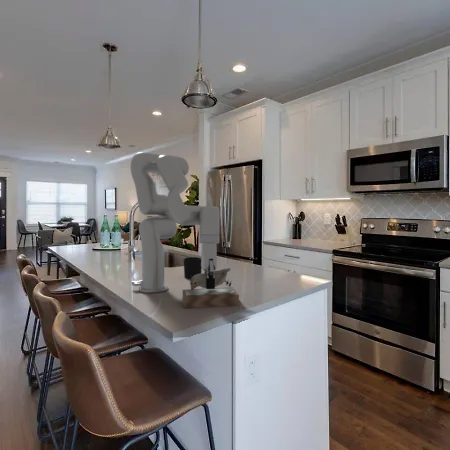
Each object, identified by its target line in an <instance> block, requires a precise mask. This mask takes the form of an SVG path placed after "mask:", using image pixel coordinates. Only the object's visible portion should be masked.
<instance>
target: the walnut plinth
mask: <svg viewBox="0 0 450 450" xmlns="http://www.w3.org/2000/svg"><path fill="white" fill-rule="evenodd" d="M182 304H183V309H196V308H197V309H198V308H216V307H217V308H218V307H231V306H232V307H234V306H239V305H240V294H239V293H238V292H237V290H236V289H235V288H234V287H230V286H229V287H215V289H206V288H194V289H193V290H191V288H190V289H189V288H187V289H182Z"/></svg>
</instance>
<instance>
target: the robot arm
mask: <svg viewBox="0 0 450 450" xmlns="http://www.w3.org/2000/svg"><path fill="white" fill-rule="evenodd" d="M189 170H190V165H189V163H188V161H187V160H186V159H185V158H184V157H182V156H177V155H172V154H157V153H153V152H148V151H147V152H146V151H141V152H140V151H139V152H137V153H135V154H134V155H133V156H132V158H131V162H130V173H131V177H132V180H133V183H134V186H135V192H136V198H137V203H138V208H139V212H140V213H141V214H142V215H144V216H158V217H147V218H145V219H143V220H142V221H141V222H140V223H139V226H138V233H139V238H140V242H141V243H140V244H141V271H142V272H141V279H140V280H131V286H134V287H138V291H139V292H141V293H149V294H150V293H151V294H155V293H161V292H165V291H167V290H168V289H169V285H167V284H165V248H164V245H163V244H162V241H161V240H163V239H166V240H167V239H170V238H173V237H174V236H176V234H177V231H178V225H180V226H198V227H199V228H198V231H199V232H198V233H199V235H198V236H199V238H198V239H199V244H201V252H200V254H201V255H200V256H201V257H200V259H201V267H202V271H204V273H206V272H207V278H206V288H205V289H215V288H216V287H215V274H214V271H217V267H218V265H217V264H218V263H217V262H218V257H217V253H218V252H217V249H218V248H217V244H220V209H219V207H218V206H212V205H210V206H209V205H207V206H205V205H204V206H202V205H201V206H200V205H185V203H184V201H183V199H182V198H181V194H182V193H183V192H185V190H186V189H188V188H189V181H188V179H187V178H186V176H187V175H188V173H189ZM149 173H151V174H159V175H160V177H161V179H162V180H163V182H164V184H165V186H166V188H167V189H168V193H167V194H158V193H157V189H156V184H155V181H154V180H153V178H152V177H151V175H150V174H149ZM177 224H178V225H177ZM208 272H209V273H208Z"/></svg>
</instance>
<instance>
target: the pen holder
mask: <svg viewBox="0 0 450 450" xmlns="http://www.w3.org/2000/svg"><path fill="white" fill-rule="evenodd" d="M183 269H184V270H183V273H184V274H183V275H184V278H185V279H187V280H191V279H192V277H193V276H194V275H196V274H200V273H202V271H203V269H202V267H201V257H197V256H195V257H194V256H191V257H185V258H184V259H183Z"/></svg>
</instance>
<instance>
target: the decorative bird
mask: <svg viewBox="0 0 450 450" xmlns="http://www.w3.org/2000/svg"><path fill="white" fill-rule="evenodd" d="M230 271H231V267H226V268H225V267H224V268H223V269H222V268H221V269H218V270H214V274H215V288H217V287H219V286H221V285H223V283H225V285H226V287H227V286H228V287H229V288H230V287H231V285H232V281H230V282H229V279H227V276H228V272H230ZM208 273H209V272H208ZM206 278H207V272H206V273H205V272H203V273H202V272H201V273H200V274H196V275H194V276H193V277H192V279H190V289H191V290H193V289H197V287H201V288H202V289H206ZM226 279H227V280H226Z"/></svg>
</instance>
